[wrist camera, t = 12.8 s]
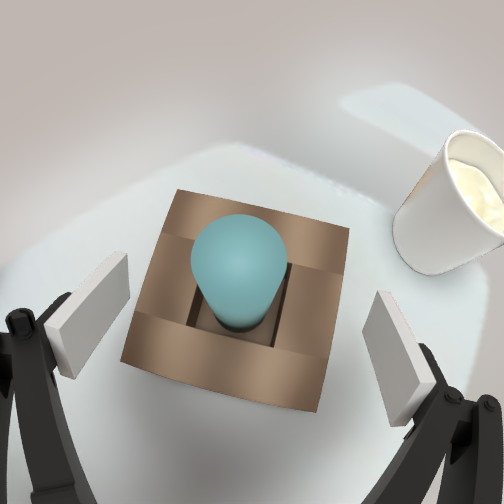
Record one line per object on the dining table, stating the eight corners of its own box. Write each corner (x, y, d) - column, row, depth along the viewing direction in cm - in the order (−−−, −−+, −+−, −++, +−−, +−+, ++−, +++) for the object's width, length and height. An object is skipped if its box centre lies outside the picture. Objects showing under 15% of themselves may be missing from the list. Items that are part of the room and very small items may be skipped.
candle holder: (369, 208, 30) (422, 133, 19) (434, 189, 32) (490, 126, 21) (409, 297, 27) (490, 255, 16) (471, 265, 29) (545, 220, 17)
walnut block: (141, 362, 25) (120, 361, 20) (186, 216, 29) (177, 189, 25) (302, 404, 24) (316, 412, 19) (333, 250, 29) (349, 228, 24)
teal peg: (206, 325, 25) (178, 291, 14) (220, 274, 27) (206, 205, 15) (260, 338, 25) (275, 316, 14) (272, 287, 26) (295, 225, 15)
